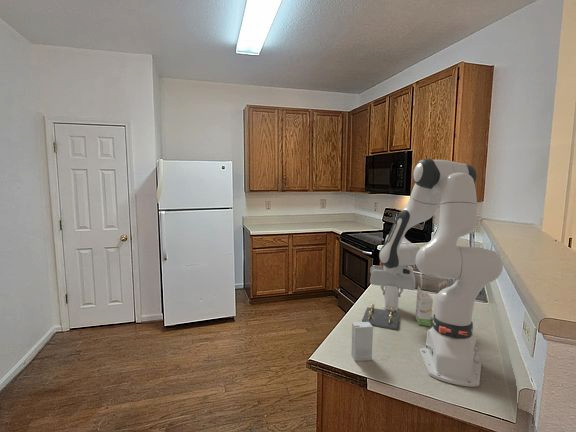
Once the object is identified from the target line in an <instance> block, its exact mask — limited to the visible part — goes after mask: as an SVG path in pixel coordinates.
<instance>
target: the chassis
mask: <svg viewBox="0 0 576 432" xmlns="http://www.w3.org/2000/svg"><path fill="white" fill-rule="evenodd" d="M399 317H400V312H399V311H394V307H391V311H390V310H386V309H380V308H375V304H374V303H371V307H370V306H369V307H366V309H365V312H364V314H363V316H362V319H361V322H369V323H370V324H371V325H372V326H373V327H374V326H375V327H380V328H386V329H391V330H394V331H395V330H398V324H399V323H398V322H399Z"/></svg>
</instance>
